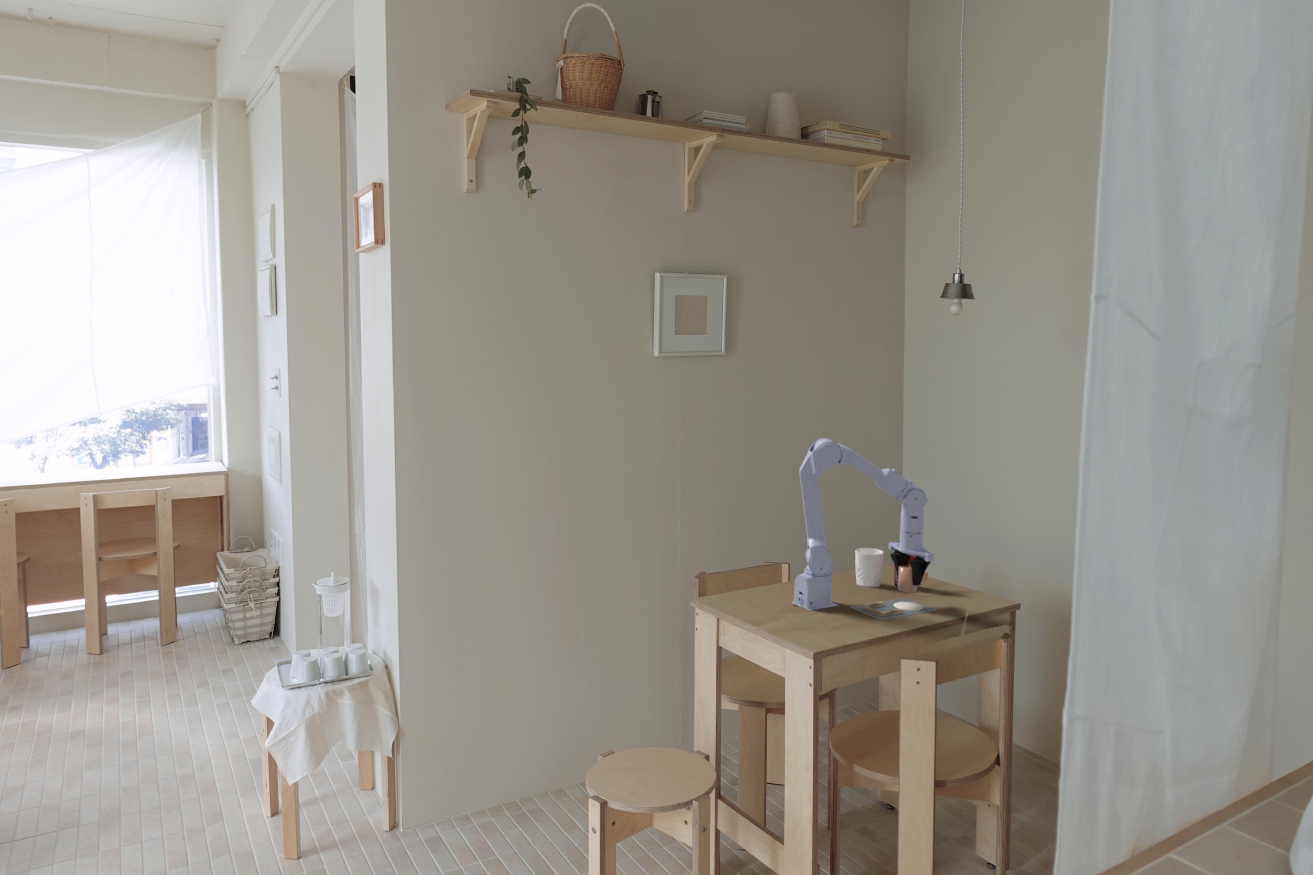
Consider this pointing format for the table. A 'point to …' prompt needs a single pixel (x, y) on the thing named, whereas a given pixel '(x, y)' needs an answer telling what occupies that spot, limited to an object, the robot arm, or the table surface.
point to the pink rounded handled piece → (908, 579)
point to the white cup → (868, 566)
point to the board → (903, 603)
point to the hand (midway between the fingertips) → (909, 582)
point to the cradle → (870, 609)
